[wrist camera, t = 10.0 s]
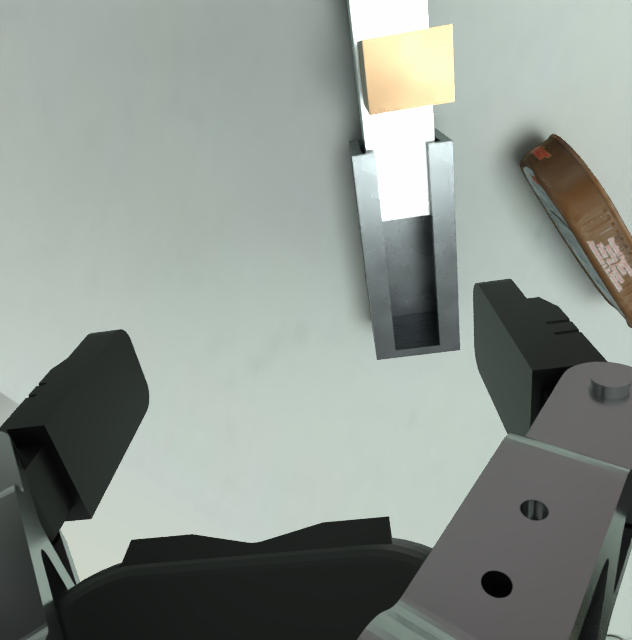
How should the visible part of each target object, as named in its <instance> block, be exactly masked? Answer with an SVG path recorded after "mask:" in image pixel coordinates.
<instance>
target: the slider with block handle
mask: <svg viewBox="0 0 632 640" xmlns="http://www.w3.org/2000/svg"><path fill="white" fill-rule="evenodd" d="M347 7H348V16H349V25H350V34H351V43H352V52H353V61H354V70H355V79H356V88H357V97H358V106H359V114H360V123H361V132H362V141H363V150H364V153H367V152H373V151H375V156H376V166H377V175H378V185H379V195H380V205H381V214H382V221H389V220H396V219H403V218H410V217H417V216H424V215H431V203H430V186H429V169H428V151H427V143H430V142H434V122H433V105H436V104H442V103H448V102H454V101H455V88H454V57H453V27H452V24H449V25H443V26H438V27H432V28H429V25H428V6H427V0H347Z"/></svg>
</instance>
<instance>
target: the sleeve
mask: <svg viewBox="0 0 632 640" xmlns="http://www.w3.org/2000/svg"><path fill="white" fill-rule="evenodd" d="M349 144H350V152H351V160H352V168H353V176H354V184H355V192H356V201H357V209H358V217H359V225H360V233H361V241H362V249H363V257H364V265H365V274H366V282H367V290H368V298H369V306H370V314H371V322H372V329H373V336H374V343H375V349H376V356H377V360H380V359H388V358H397V357H405V356H413V355H422V354H430V353H439V352H447V351H455V350H460V337H459V309H458V282H457V254H456V227H455V199H454V172H453V144H452V140H451V139H449V138H448V137H447V136H445V135H444V134H443V133H441V132H440V131H438V130H437V129H436V128H434V142H430V143H427V151H428V169H429V186H430V203H431V215H424V216H417V217H410V218H403V219H396V220H389V221H382V214H381V205H380V195H379V185H378V175H377V166H376V156H375V151H373V152H367V153H364V150H363V141H362V139H361V140H354V141H349Z"/></svg>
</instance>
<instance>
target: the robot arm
mask: <svg viewBox="0 0 632 640" xmlns="http://www.w3.org/2000/svg"><path fill="white" fill-rule="evenodd" d="M473 309H474V348H475V357H476V362H477V366H478V370H479V373H480V375H481V377H482V379H483V382H484V384H485V386H486V388H487V390H488V392H489V395H490V397H491V399H492V401H493V403H494V405H495V408H496V410H497V412H498V414H499V416H500V418H501V421H502V423H503V425H504V427H505V429H506V432H507V434H508V435H507V436H506V437H505V438H504V439H503V441H502V442H501V444H500V445H499V447H498V449H497V450H496V452H495V453H494V455H493V456H492V458H491V459H490V461H489V462H488V464H487V466H486V467H485V469H484V470H483V472H482V473H481V475H480V476H479V478H478V479H477V481H476V483H475V484H474V486H473V487H472V489H471V490H470V492H469V493H468V495H467V496H466V498H465V500H464V501H463V503H462V504H461V506H460V507H459V509H458V510H457V512H456V513H455V515H454V517H453V518H452V520H451V521H450V523H449V524H448V526H447V527H446V529H445V530H444V532H443V534H442V535H441V537H440V538H439V540H438V541H437V543H436V544H435V546H434V547H433V548H430V547H428V546H425V545H422V544H419V543H415V542H411V541H408V540H403V539H397V538H392V536H391V528H390V521H389V517H379V518H368V519H357V520H346V521H335V522H324V523H320V524H317V525H314V526H310V527H307V528H304V529H301V530H297V531H294V532H291V533H288V534H284V535H281V536H278V537H275V538H272V539H268V540H265V541H262V542H257V543H246V542H240V541H233V540H226V539H220V538H213V537H206V536H199V535H193V534H191V535H181V536H169V537H158V538H147V539H136V540H131V542H130V545H129V547H128V549H127V552H126V554H125V557H124V559H123V562H122V563H119V564H117V565H114V566H111V567H109V568H107V569H104V570H102V571H100V572H98V573H96V574H94V575H92V576H90V577H88V578H87V579H84V580H83V581H81V582H80V580H79V577H78V574H77V571H76V568H75V565H74V563H73V559H72V556H71V554H70V551H69V548H68V545H67V542H66V540H65V538H64V536H63V534H62V532H61V530H60V528H61V527H62V525H63V523H64V521H75V520H85V519H91V518H92V517H93V515H94V513H95V511H96V509H97V507H98V505H99V503H100V501H101V499H102V497H103V495H104V493H105V491H106V489H107V487H108V486H109V484H110V482H111V480H112V478H113V476H114V474H115V472H116V470H117V468H118V466H119V464H120V462H121V460H122V458H123V456H124V454H125V452H126V451H127V449H128V447H129V445H130V443H131V441H132V439H133V437H134V435H135V433H136V431H137V429H138V427H139V425H140V423H141V421H142V419H143V417H144V415H145V414H146V412H147V409H148V405H149V390H148V385H147V382H146V380H145V377H144V374H143V372H142V369H141V366H140V363H139V361H138V358H137V355H136V353H135V350H134V347H133V345H132V342H131V339H130V337H129V335H128V334H127V333H126V332H125V331H124V330H122V329H120V330H112V331H105V332H97V333H90V334H88V335H87V336H86V337H85V339H84V340H83V341H82V342H81V343H80V344H79V346H78V347H77V348H76V349H75V350H74V351H73V353H72V354H71V355H70V356H69V357H68V358H67V359H66V360H64V361H63V362H61V363H60V364H58V365H57V366H56V367H54V368H53V369H51V370H50V371H49V373H48V374H47V375H46V376H45V377H44V378H43V379H42V380H41V382H40V383H39V386H36V387H35V388H34V390H33V391H32V392H31V393H30V394H29V398H26V399H25V400H24V401H23V402H22V403H21V404H20V405H19V407H18V408H17V409H16V410H15V411H14V412H13V413H12V415H11V416H10V417H9V418H8V419H7V420H6V421H5V422H4V424H3V425H2V426H1V427H0V640H606V635H607V631H608V627H609V623H610V619H611V615H612V611H613V608H614V605H615V601H616V598H617V595H618V592H619V588H620V585H621V582H622V578H623V575H624V572H625V569H626V565H627V562H628V559H629V556H630V552H631V549H632V367H630V366H627V365H623V364H618V363H612V362H607V361H606V360H605V358H604V357H603V356H602V355H601V354H600V353H599V352H598V351H597V349H596V348H595V347H594V346H593V345H592V344H591V343H590V342H589V340H588V339H587V338H586V337H585V336H584V335H583V334H582V333H581V332H579V329H578V328H577V327H576V326H575V325H574V324H573V322H570V320H569V318H568V317H567V316H566V315H565V313H564V312H563V311H562V310H561V309H560V308H559V307H558V306H556V305H554V304H552V303H550V302H548V301H546V300H544V299H542V298H540V297H536V298H528V299H527V298H526V297H525V296H524V295H523V293H522V292H521V291H520V289H519V288H518V287H517V286H516V284H515V283H514V282H513V281H512V280H511V279H504V280H497V281H489V282H482V283H476V284H475V285H474V290H473Z"/></svg>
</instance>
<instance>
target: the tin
mask: <svg viewBox="0 0 632 640" xmlns="http://www.w3.org/2000/svg"><path fill="white" fill-rule="evenodd" d="M520 166H521V169H522V171H523V174H524V175H525V177H526V179H527V181H528V183H529V184H530V186H531V188H532V189H533V191H534V193H535V194H536V196H537V197H538V199H539V201H540V202H541V204H542V205H543V207H544V209H545V210H546V212H547V214H548V215H549V217H550V219H551V220H552V222H553V223H554V225H555V227H556V228H557V230H558V231H559V233H560V235H561V236H562V238H563V239H564V241H565V242H566V244H567V245H568V247H569V248H570V250H571V252H572V253H573V255H574V256H575V258H576V259H577V261H578V262H579V263H580V265H581V266H582V268H583V269H584V271H585V272H586V274H587V275H588V277H589V278H590V279H591V281H592V282H593V284H594V285H595V286H596V288H597V289H598V290H599V292H600V293H601V294H602V296H603V297H604V298H605V300H606V301H607V302H608V303H609V304H610V305H611V306H613V307H614V308H616V309H617V310H618V312H619V313H620V314H621V315H622V316H623V317H624V318H625V319H626V322H627V324H628V326H629V327H630V328H632V236H631V234H630V233H629V231H628V229H627V227H626V225H625V224H624V222H623V220H622V219H621V217H620V215H619V213H618V211H617V210H616V208H615V206H614V204H613V203H612V201H611V199H610V198H609V196H608V194H607V193H606V191H605V190H604V188H603V187H602V186H601V184H600V183H599V181H598V180H597V178H596V177H595V176H594V174H593V173H592V172H591V170H590V169H589V168H588V166H587V165H586V164H585V162H584V161H583V160H582V159H581V158H580V156H579V155H578V154H577V153H576V152H575V151H574V150H573V148H572V147H571V146H570V145H568V144H567V143H566V142H565V141H564V140H563V139H562V138H561V137H559V136H557V135H555V134H552V135H550V136H549V138H548V139H547V140H545V141H544V142H543V143H541V144H540V145H538V146H537V147H535V148H534V149H533V150H531V151H530V152H528V153H527V154H526V155H525V156H524V157H523V158H522V159H521V161H520Z"/></svg>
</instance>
